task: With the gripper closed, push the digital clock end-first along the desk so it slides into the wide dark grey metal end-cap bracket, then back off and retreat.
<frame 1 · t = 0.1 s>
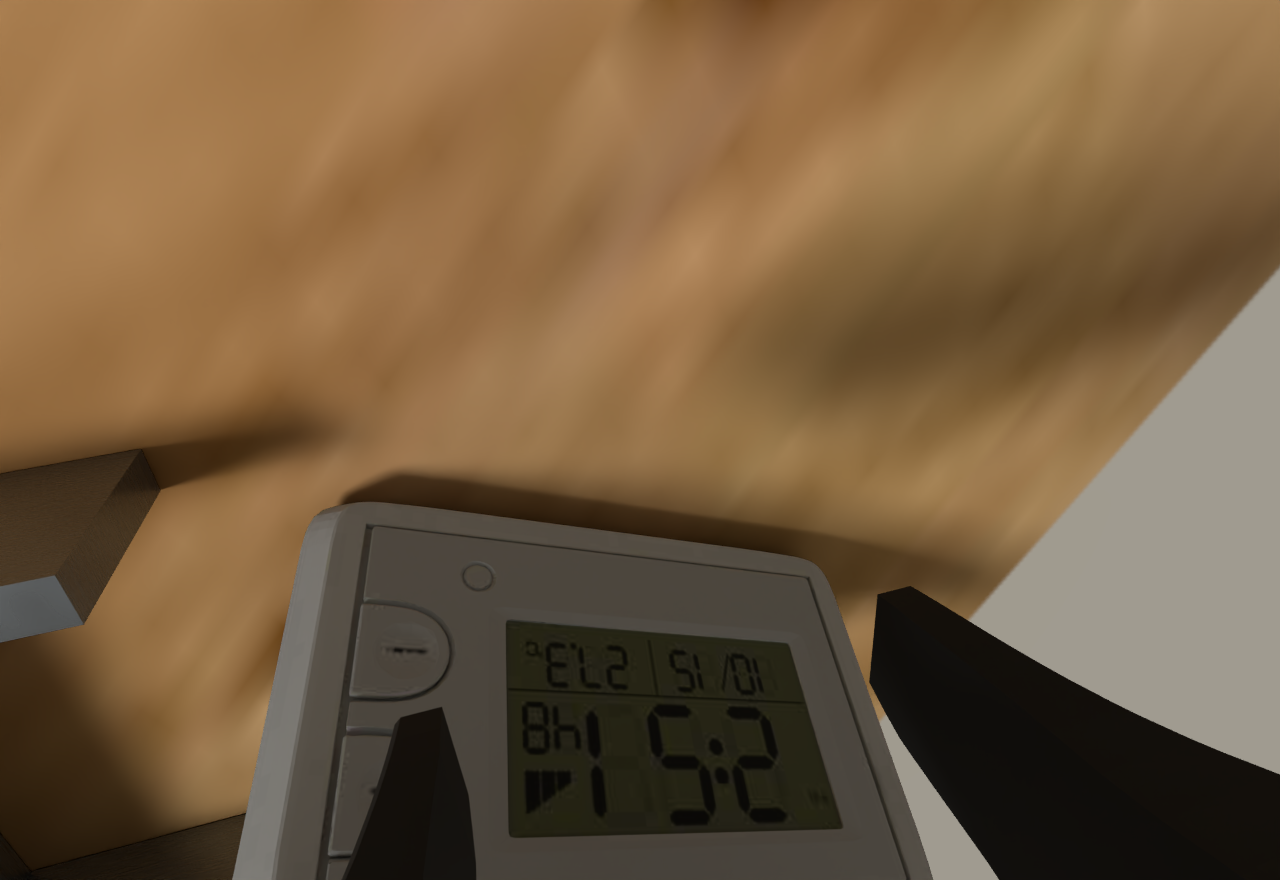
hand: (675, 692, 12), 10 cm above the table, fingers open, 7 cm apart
digital clock: (575, 583, 24), on the table
end cap: (80, 703, 21), on the table
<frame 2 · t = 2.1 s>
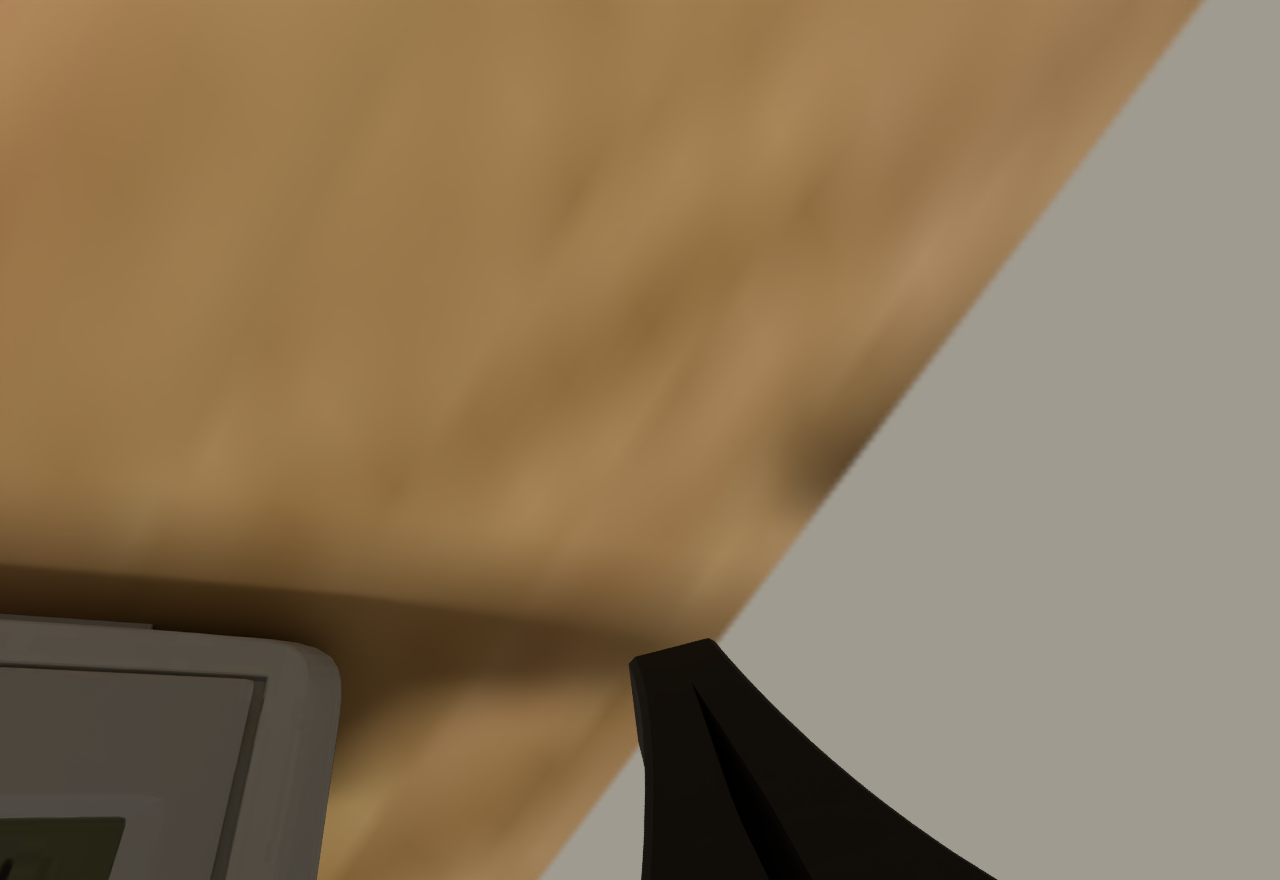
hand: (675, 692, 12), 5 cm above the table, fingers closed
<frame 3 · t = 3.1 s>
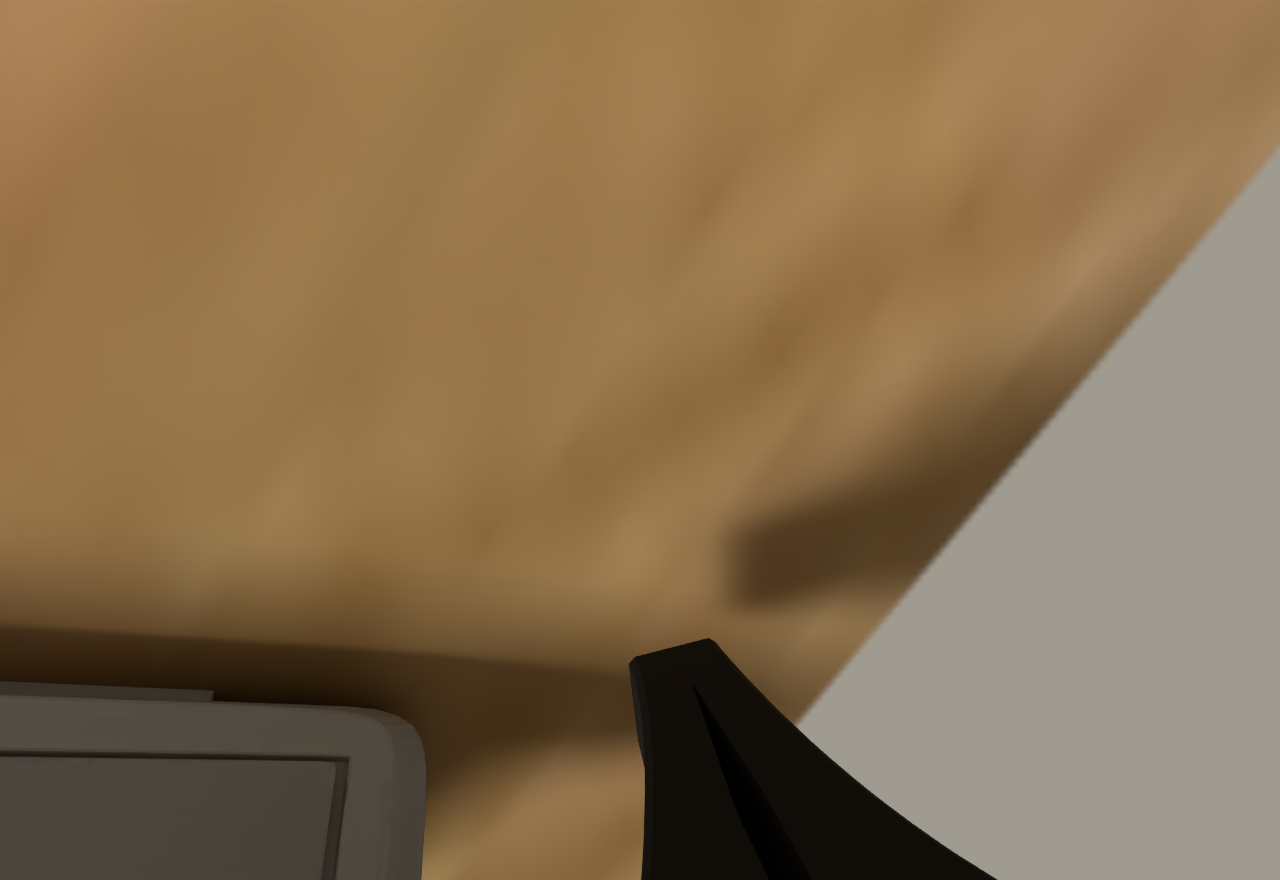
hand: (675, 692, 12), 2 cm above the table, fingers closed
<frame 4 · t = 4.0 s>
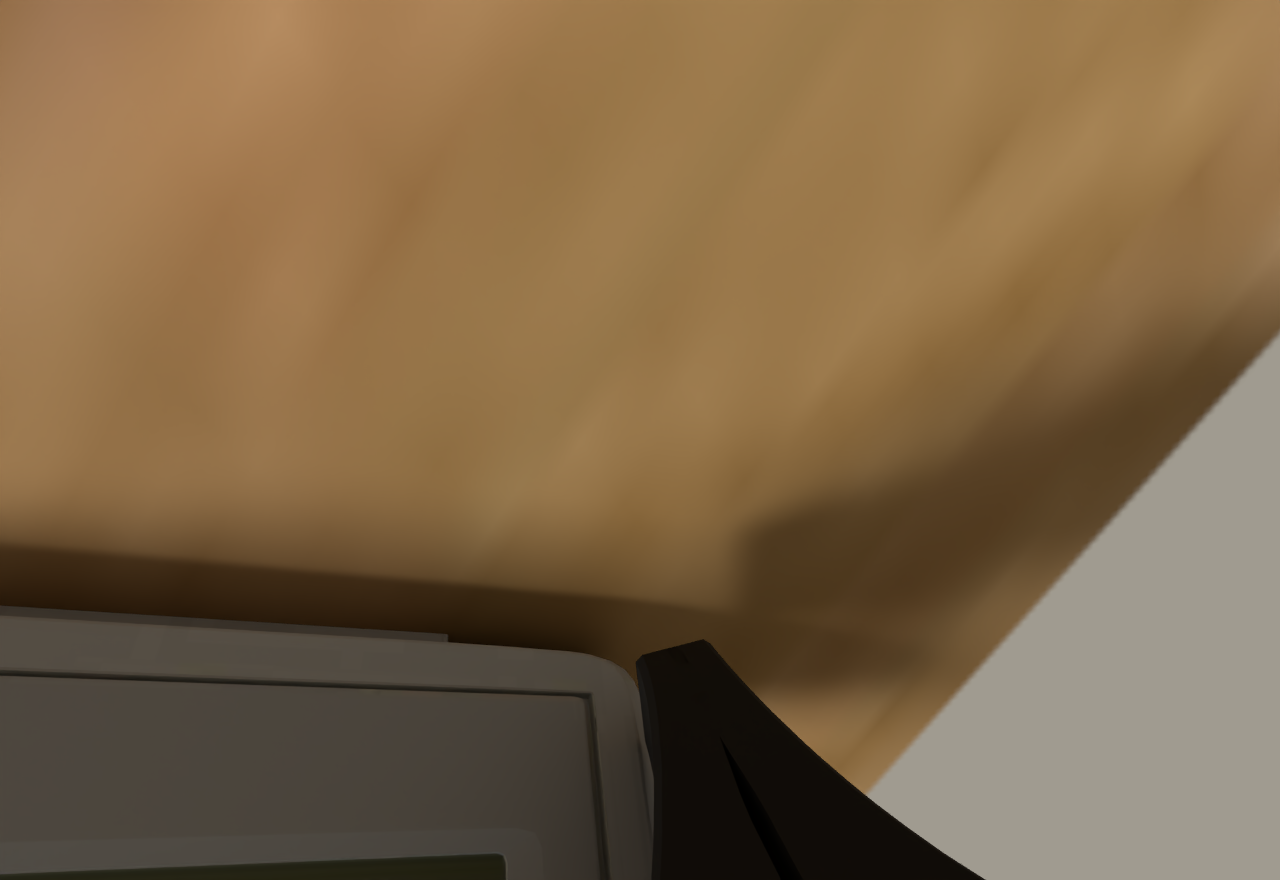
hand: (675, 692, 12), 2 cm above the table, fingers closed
digital clock: (164, 706, 13), on the table, touching gripper
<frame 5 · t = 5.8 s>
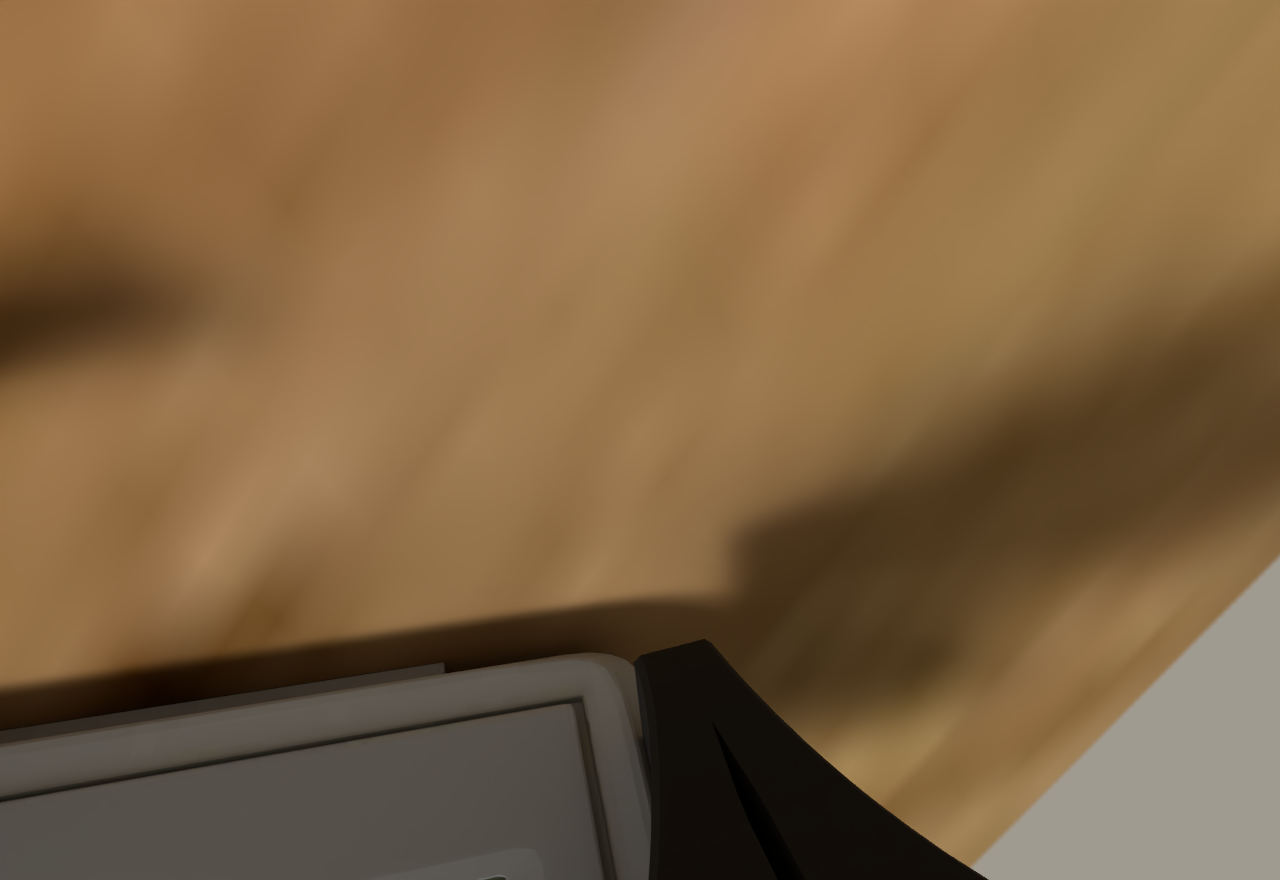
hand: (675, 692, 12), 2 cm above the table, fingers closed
digital clock: (209, 779, 14), on the table, touching gripper
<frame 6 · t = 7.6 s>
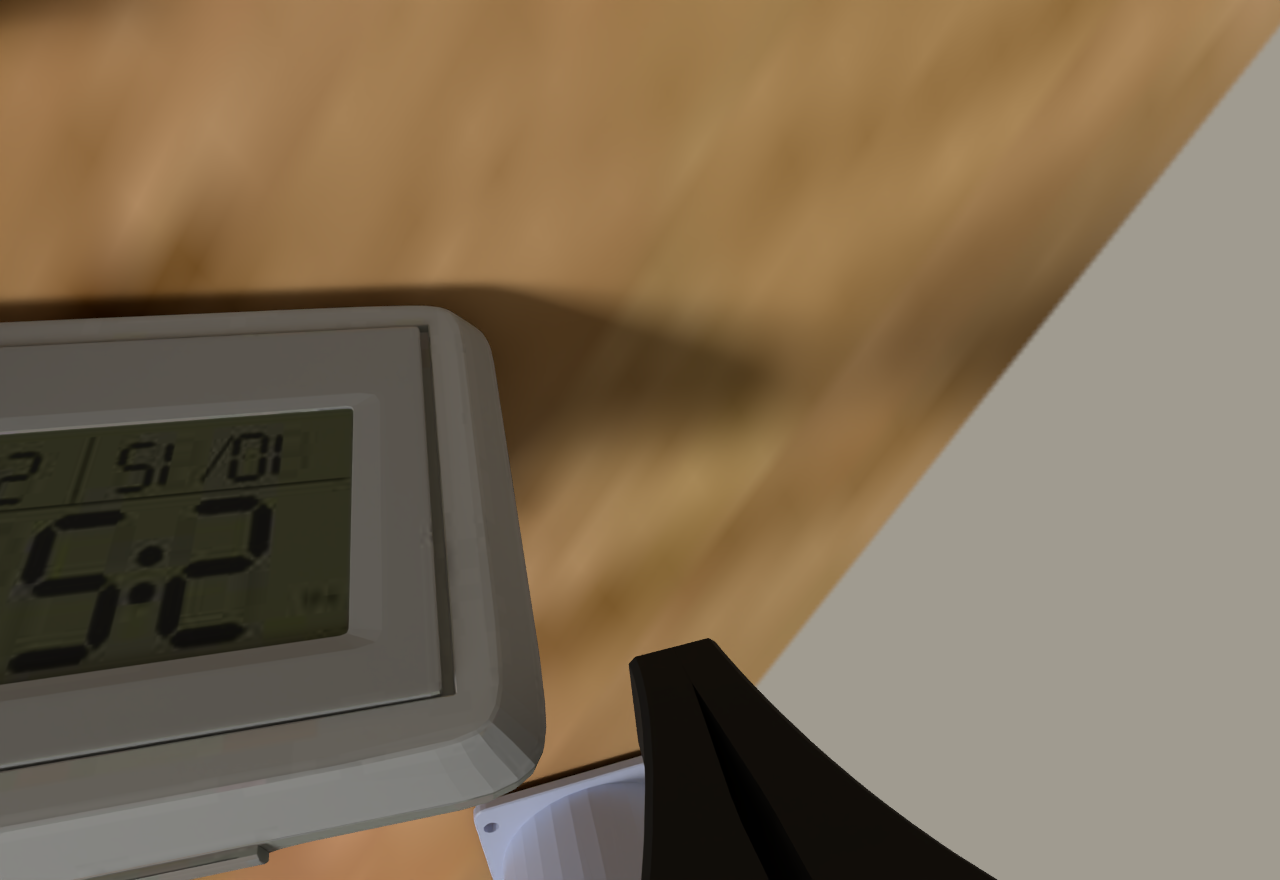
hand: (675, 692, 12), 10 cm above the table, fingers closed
digital clock: (149, 416, 18), on the table
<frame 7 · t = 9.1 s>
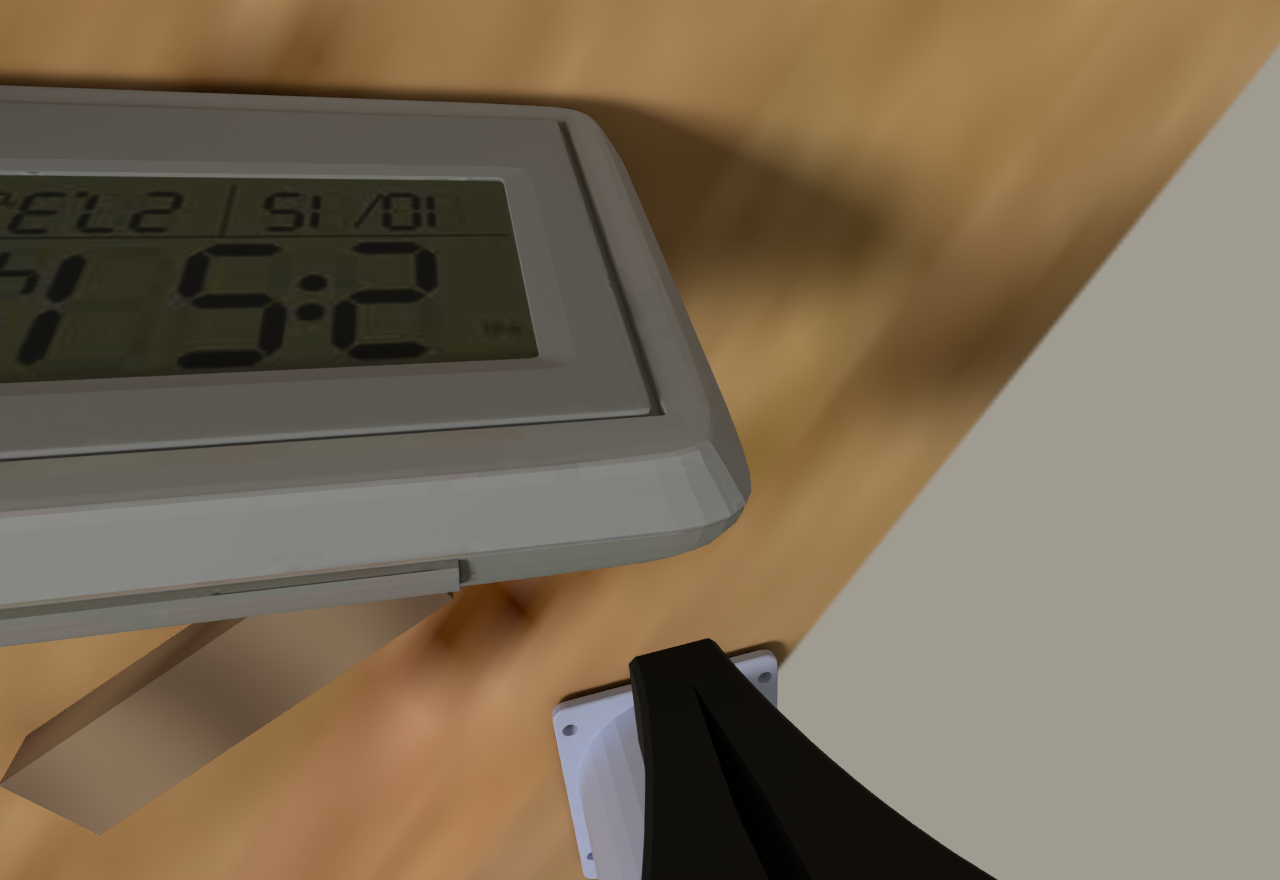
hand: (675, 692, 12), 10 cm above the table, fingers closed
digital clock: (256, 230, 17), on the table
walnut slat: (246, 638, 21), on the table
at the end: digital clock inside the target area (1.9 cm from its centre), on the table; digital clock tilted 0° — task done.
